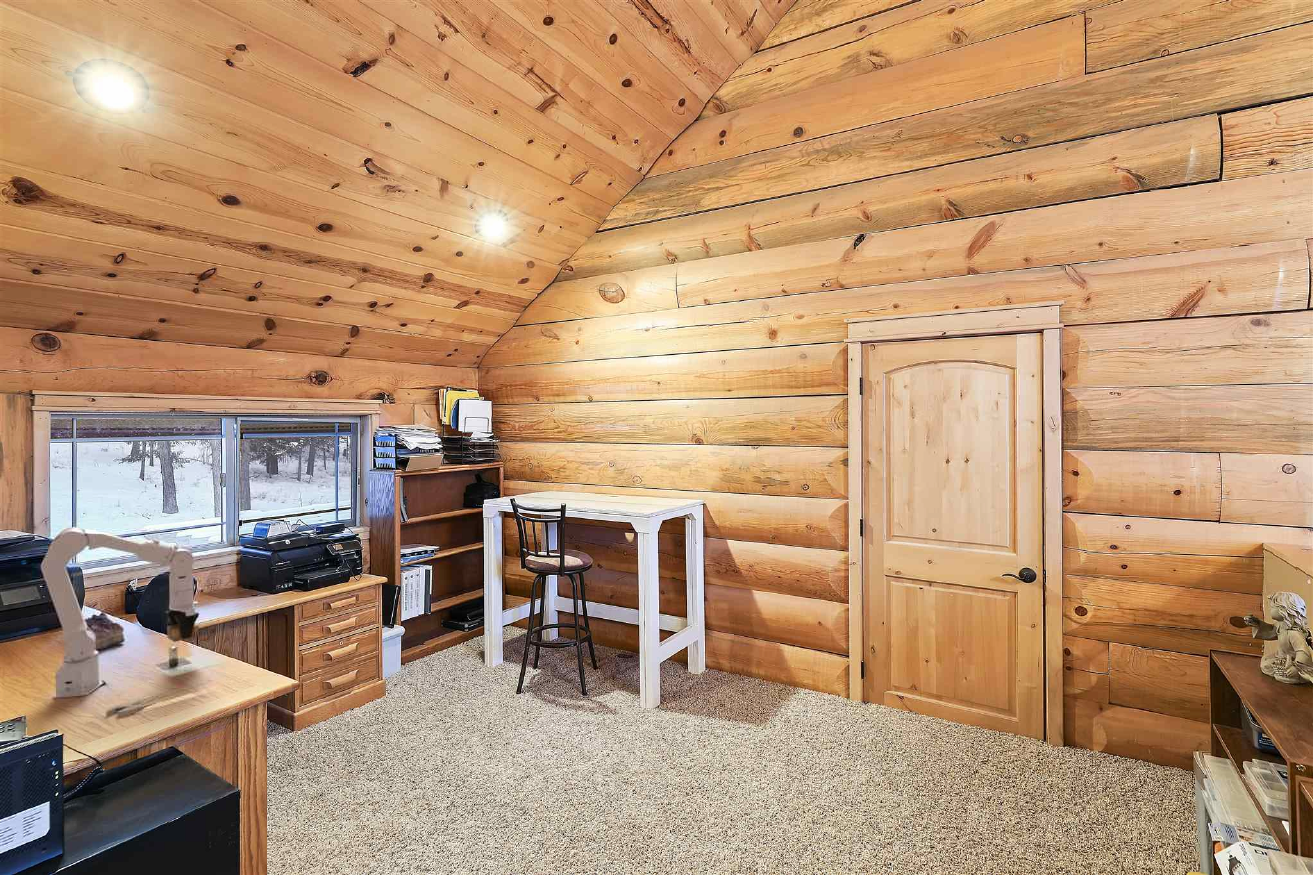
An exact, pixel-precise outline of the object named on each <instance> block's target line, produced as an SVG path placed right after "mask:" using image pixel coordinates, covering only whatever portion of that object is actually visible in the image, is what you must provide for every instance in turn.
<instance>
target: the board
mask: <svg viewBox="0 0 1313 875" xmlns="http://www.w3.org/2000/svg"><path fill="white" fill-rule="evenodd" d="M184 658H185V659H186V660H188V661H190V662H191V663H190V664H187V665H183V666H179V667H175V668H171V669H167V670H162V669H161V668H159V667H158V666H156V665H154V666H153V667H154V668H156V669H158V671H160V672H161V673H163V674H165V675H166V676H168V677H169V678H172V677H177V676H180V675H184V674H189V673H191V672H195V671H199V670H202V669H207V668H209V667H214V666H219V663H217V661H214V660H212V659H211V658H209V657H207V656H205V655H203V654H196V655H192V656H188V657H184Z"/></svg>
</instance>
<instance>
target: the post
mask: <svg viewBox="0 0 1313 875" xmlns="http://www.w3.org/2000/svg"><path fill="white" fill-rule="evenodd" d="M185 658H186V657H181V658H179V646H177V645H175V646H170V647H168V661H165V662H161V663H157V664H155V666H158V667H159V668H161V669H162V670H167V669H171V668H175V667H179V666H183V665H187V664H190V663H191V662H190V661H188V660H186V659H185Z"/></svg>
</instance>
